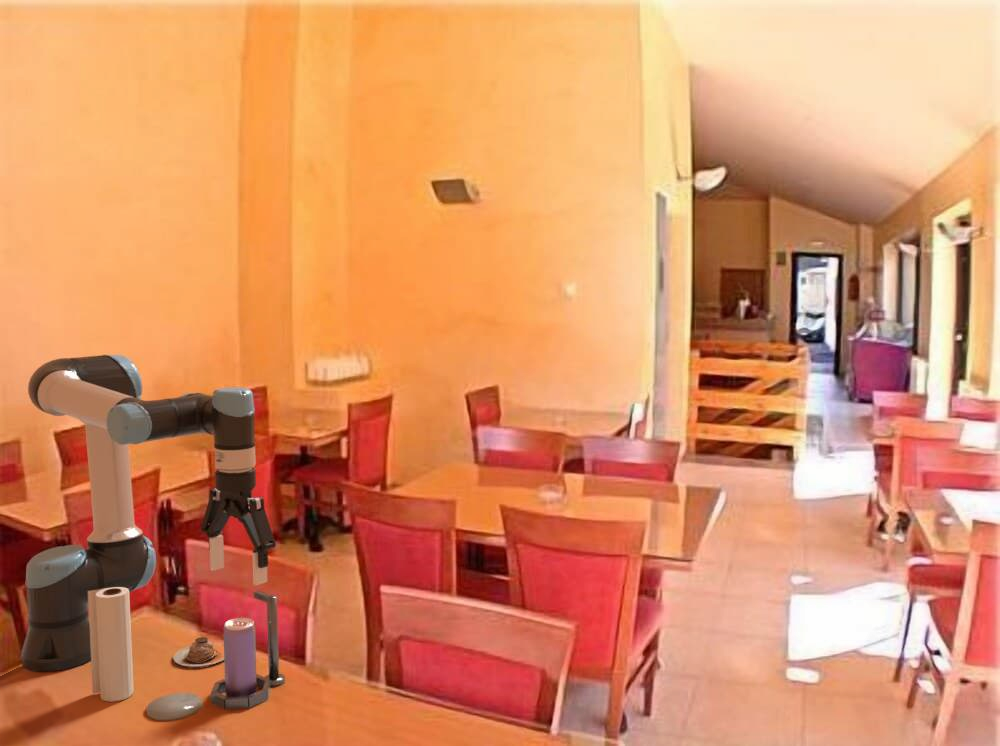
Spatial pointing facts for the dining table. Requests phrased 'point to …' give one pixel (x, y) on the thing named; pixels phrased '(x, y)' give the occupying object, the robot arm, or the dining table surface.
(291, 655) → the dining table surface
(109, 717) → the dining table surface
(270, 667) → the stand
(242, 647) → the beverage can
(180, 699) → the coaster
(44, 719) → the dining table surface
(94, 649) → the paper towel roll
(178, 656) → the pastry
